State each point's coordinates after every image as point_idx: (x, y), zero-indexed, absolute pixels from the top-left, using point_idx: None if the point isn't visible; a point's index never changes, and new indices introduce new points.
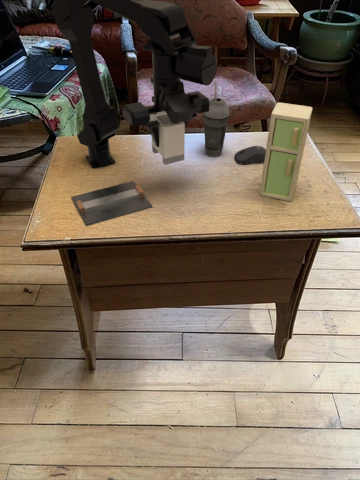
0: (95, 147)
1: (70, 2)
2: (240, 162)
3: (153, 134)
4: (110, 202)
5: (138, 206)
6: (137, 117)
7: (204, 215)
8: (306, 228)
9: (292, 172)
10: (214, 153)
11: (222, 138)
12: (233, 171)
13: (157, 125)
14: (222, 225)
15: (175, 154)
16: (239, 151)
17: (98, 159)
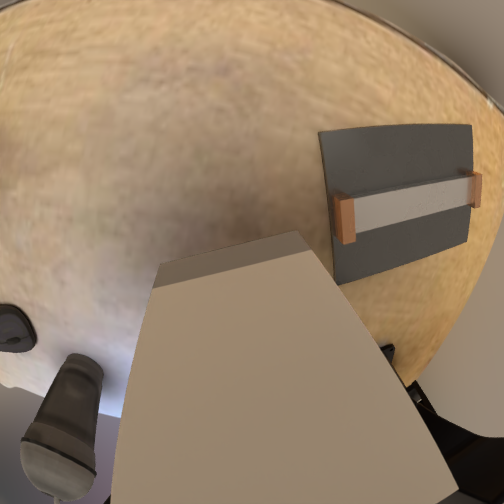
0: (404, 385)
1: None
2: (17, 312)
3: (426, 412)
4: (426, 184)
5: (362, 144)
6: None
7: (148, 48)
8: None
9: None
10: (77, 362)
11: (48, 391)
12: (30, 283)
13: (484, 480)
14: (114, 2)
15: (223, 279)
16: (23, 349)
17: (389, 361)
